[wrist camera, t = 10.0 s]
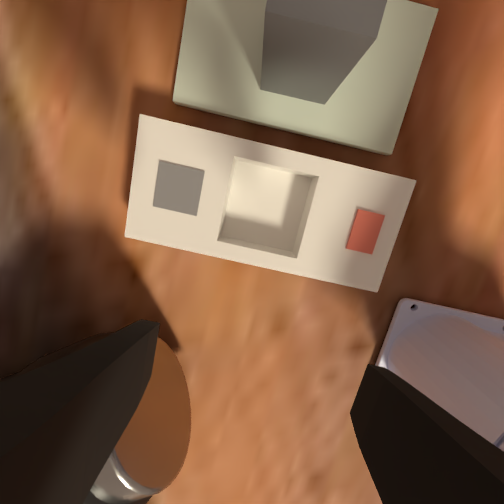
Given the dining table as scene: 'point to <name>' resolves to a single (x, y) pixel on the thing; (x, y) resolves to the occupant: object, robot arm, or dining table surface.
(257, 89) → the sage mat
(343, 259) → the socket strip
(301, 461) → the dining table surface
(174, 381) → the muzzle brake
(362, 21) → the block
